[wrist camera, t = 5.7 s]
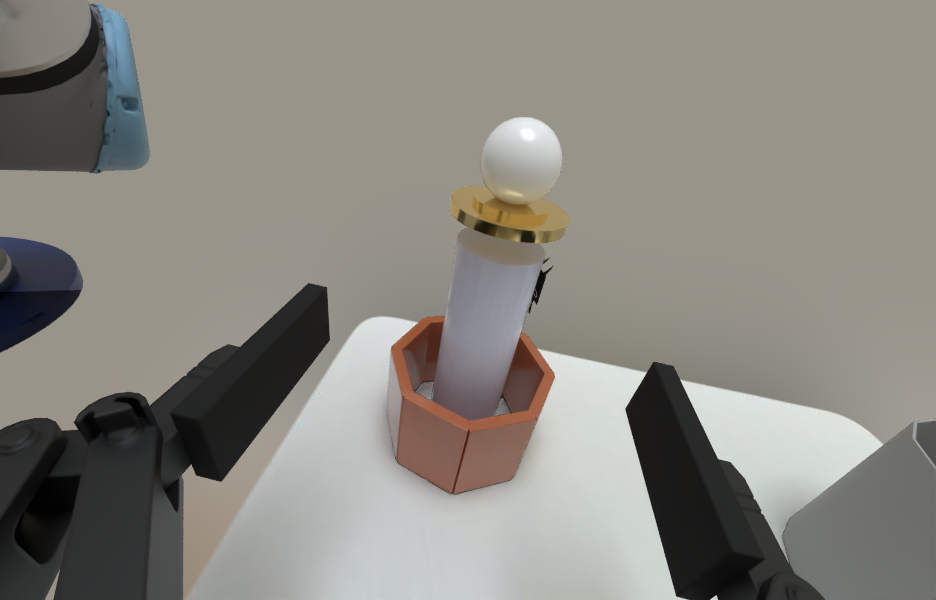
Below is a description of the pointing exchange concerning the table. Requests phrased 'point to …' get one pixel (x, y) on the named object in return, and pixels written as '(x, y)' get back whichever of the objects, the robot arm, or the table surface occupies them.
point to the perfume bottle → (497, 264)
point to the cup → (873, 525)
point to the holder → (452, 436)
